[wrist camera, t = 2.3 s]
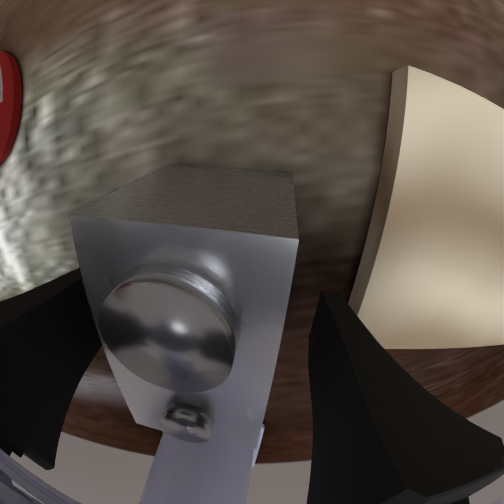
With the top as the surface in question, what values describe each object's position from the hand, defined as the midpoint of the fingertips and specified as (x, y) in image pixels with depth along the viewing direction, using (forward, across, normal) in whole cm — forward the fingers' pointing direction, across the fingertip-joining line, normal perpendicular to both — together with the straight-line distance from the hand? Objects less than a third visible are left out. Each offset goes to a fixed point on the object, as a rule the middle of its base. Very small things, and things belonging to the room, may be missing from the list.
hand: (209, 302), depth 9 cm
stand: (+3, -12, -3) cm, 13 cm away
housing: (+3, 0, 0) cm, 3 cm away
